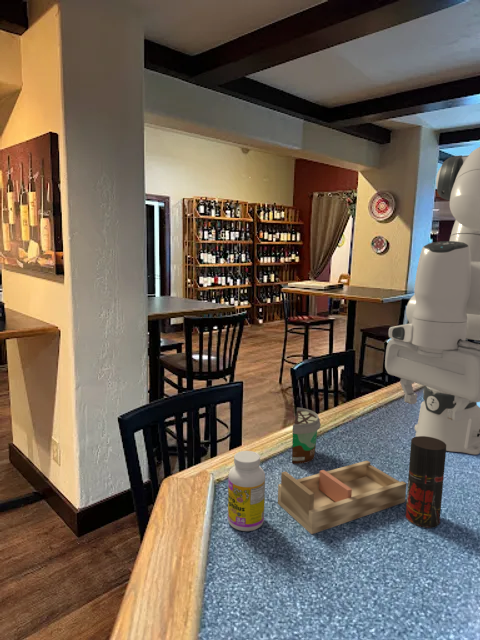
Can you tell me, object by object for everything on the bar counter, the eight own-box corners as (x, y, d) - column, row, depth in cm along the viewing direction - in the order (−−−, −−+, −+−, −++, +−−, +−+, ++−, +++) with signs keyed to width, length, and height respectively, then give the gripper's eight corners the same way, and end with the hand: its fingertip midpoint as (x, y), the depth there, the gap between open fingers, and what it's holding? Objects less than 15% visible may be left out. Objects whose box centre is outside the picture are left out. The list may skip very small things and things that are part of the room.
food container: (318, 469, 105) (320, 427, 103) (291, 466, 106) (292, 425, 104) (320, 446, 117) (321, 408, 115) (295, 444, 118) (297, 406, 116)
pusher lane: (366, 477, 101) (367, 447, 100) (405, 501, 92) (407, 469, 90) (277, 503, 90) (278, 470, 89) (311, 534, 81) (313, 497, 80)
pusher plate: (322, 488, 94) (323, 469, 93) (350, 508, 86) (351, 489, 86) (318, 489, 93) (319, 470, 93) (346, 510, 86) (347, 490, 85)
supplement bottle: (220, 519, 85) (221, 453, 83) (249, 507, 89) (250, 445, 87) (242, 537, 80) (243, 468, 78) (271, 524, 84) (273, 458, 81)
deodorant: (400, 510, 89) (405, 436, 86) (429, 509, 89) (436, 435, 87) (414, 528, 83) (420, 450, 80) (445, 527, 83) (453, 449, 81)
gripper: (506, 345, 73) (497, 428, 75) (405, 325, 91) (400, 392, 93) (481, 348, 70) (472, 434, 72) (382, 327, 88) (377, 396, 90)
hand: (431, 410), depth 83 cm, fingers open, 8 cm apart
